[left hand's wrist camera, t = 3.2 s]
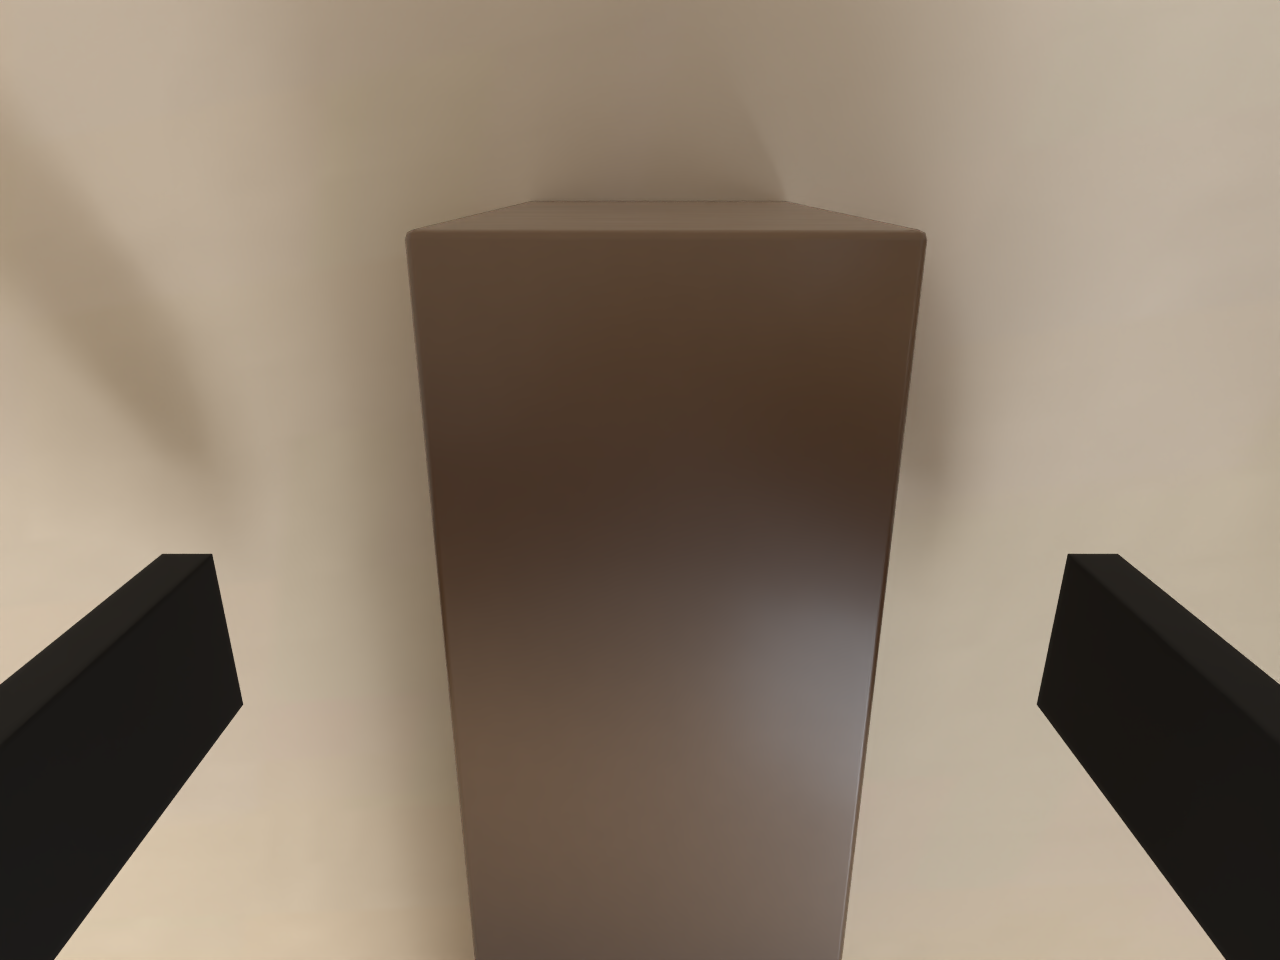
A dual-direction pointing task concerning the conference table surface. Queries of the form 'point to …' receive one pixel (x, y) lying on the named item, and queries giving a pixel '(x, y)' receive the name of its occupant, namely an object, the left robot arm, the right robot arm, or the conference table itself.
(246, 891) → the conference table surface
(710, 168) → the conference table surface
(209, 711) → the left robot arm
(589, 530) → the beam
